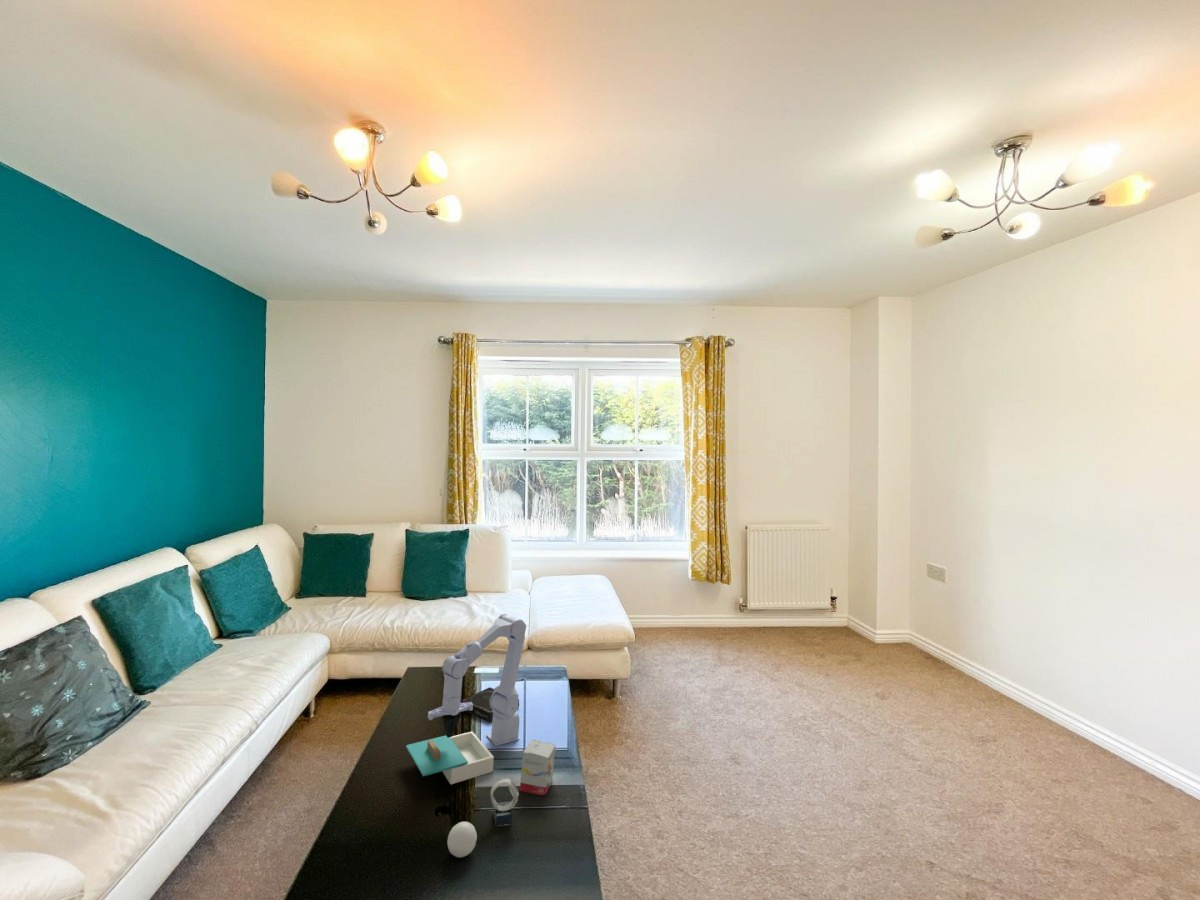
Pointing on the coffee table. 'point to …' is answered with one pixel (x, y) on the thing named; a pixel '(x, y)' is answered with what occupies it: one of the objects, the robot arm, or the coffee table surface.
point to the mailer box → (470, 758)
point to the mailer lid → (436, 755)
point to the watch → (504, 809)
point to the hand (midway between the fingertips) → (448, 735)
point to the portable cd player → (481, 704)
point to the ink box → (537, 767)
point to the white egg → (462, 839)
